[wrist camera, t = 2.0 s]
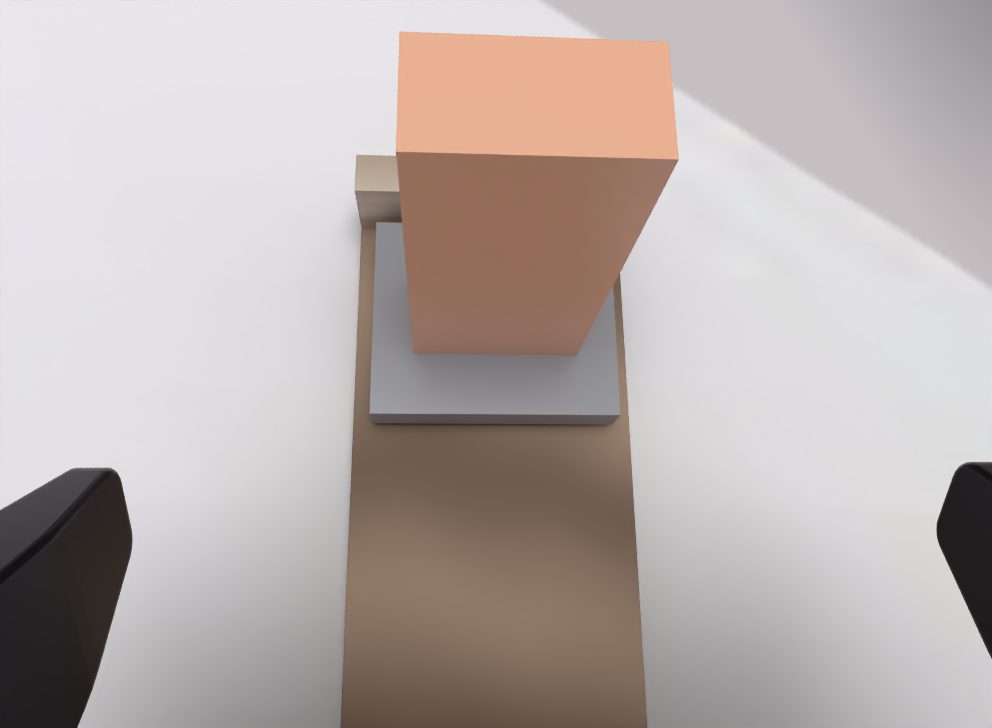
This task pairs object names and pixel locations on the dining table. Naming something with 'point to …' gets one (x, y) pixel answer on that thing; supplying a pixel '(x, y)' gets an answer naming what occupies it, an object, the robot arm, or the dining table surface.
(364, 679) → the fader track
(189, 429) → the dining table surface
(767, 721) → the dining table surface
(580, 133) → the fader
